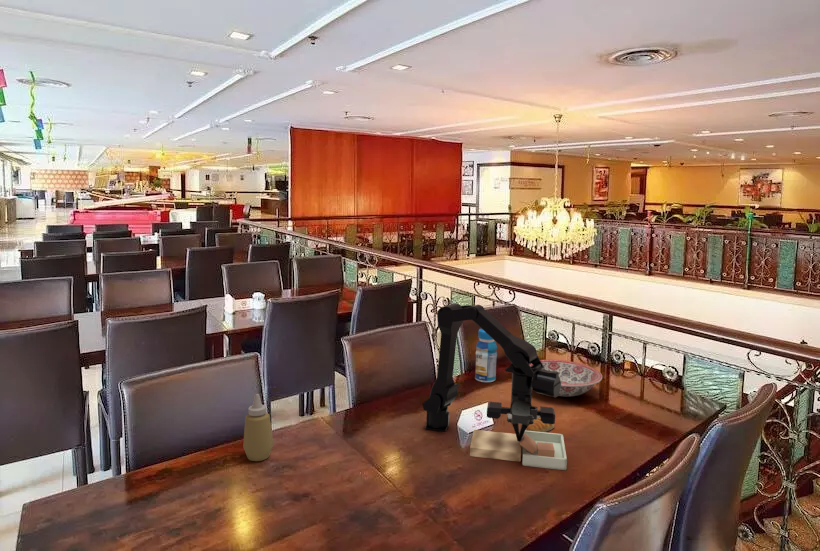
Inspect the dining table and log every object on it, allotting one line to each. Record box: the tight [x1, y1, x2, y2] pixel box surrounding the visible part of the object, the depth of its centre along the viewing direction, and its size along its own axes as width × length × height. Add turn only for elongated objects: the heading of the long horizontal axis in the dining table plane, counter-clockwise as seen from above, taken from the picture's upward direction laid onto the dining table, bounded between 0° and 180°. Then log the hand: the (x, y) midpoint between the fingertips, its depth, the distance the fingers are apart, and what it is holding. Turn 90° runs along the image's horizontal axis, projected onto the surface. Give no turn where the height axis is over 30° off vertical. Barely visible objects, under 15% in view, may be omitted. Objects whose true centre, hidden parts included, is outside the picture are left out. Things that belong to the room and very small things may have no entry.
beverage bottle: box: [474, 328, 498, 383], centre depth 216 cm, size 8×8×20 cm
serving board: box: [469, 429, 522, 463], centre depth 158 cm, size 14×12×2 cm
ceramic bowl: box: [529, 359, 603, 397], centre depth 204 cm, size 29×29×8 cm
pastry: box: [526, 417, 555, 433], centre depth 172 cm, size 9×7×4 cm
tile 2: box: [537, 442, 555, 457], centre depth 156 cm, size 4×4×2 cm
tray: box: [521, 429, 568, 471], centre depth 156 cm, size 12×16×3 cm
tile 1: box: [520, 433, 537, 454], centre depth 157 cm, size 4×4×2 cm
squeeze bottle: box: [242, 393, 274, 462], centre depth 150 cm, size 8×8×18 cm
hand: (519, 440), depth 157 cm, fingers closed
